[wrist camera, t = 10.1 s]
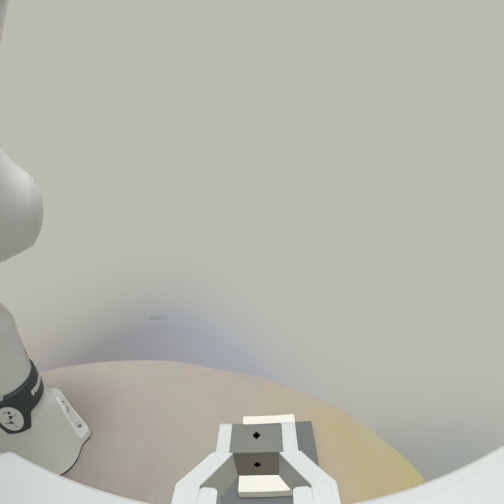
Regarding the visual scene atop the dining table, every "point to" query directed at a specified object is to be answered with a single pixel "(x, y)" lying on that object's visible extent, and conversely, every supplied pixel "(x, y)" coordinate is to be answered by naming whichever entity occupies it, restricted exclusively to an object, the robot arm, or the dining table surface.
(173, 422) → the dining table surface
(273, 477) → the tile
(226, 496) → the mat
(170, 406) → the dining table surface
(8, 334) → the robot arm
